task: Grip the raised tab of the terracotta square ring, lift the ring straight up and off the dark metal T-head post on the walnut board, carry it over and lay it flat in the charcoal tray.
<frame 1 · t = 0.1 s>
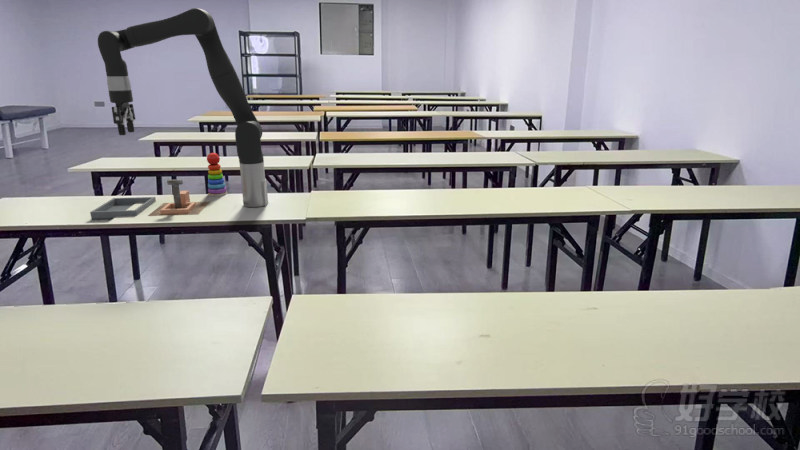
hand: (127, 133, 195), 29 cm above the table, tool pointing down, fingers open, 8 cm apart
ring: (178, 209, 196), point 1 cm above the table, touching stake board
stake board: (180, 211, 199), on the table
tray: (125, 211, 199), on the table
stacking toy: (218, 196, 221), on the table
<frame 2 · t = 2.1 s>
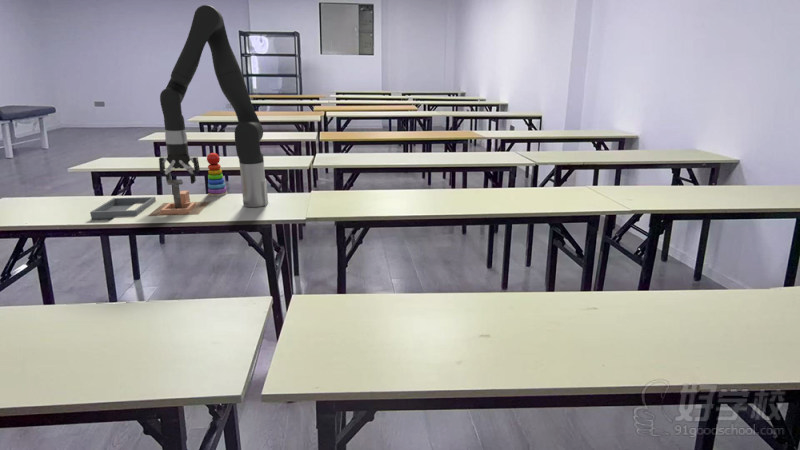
hand: (181, 183, 202), 10 cm above the table, tool pointing down, fingers open, 8 cm apart
nothing on the table moved.
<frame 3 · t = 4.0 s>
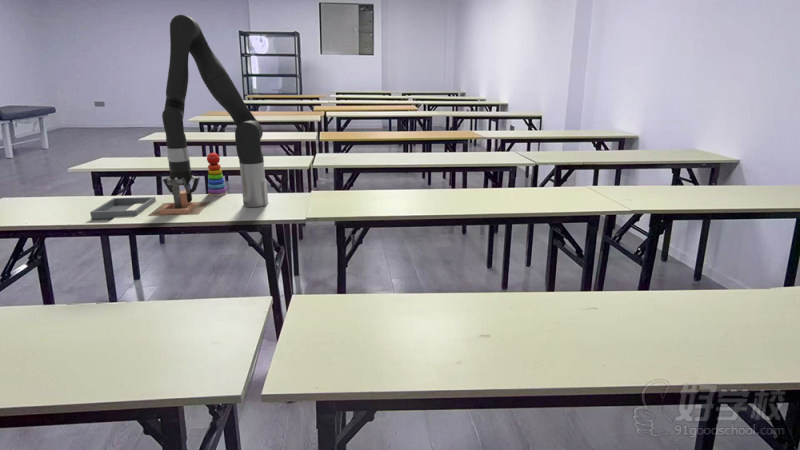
hand: (184, 202, 204), 2 cm above the table, tool pointing down, fingers closed on ring, 3 cm apart
ring: (178, 209, 196), point 1 cm above the table, touching gripper, stake board
everything else where it was.
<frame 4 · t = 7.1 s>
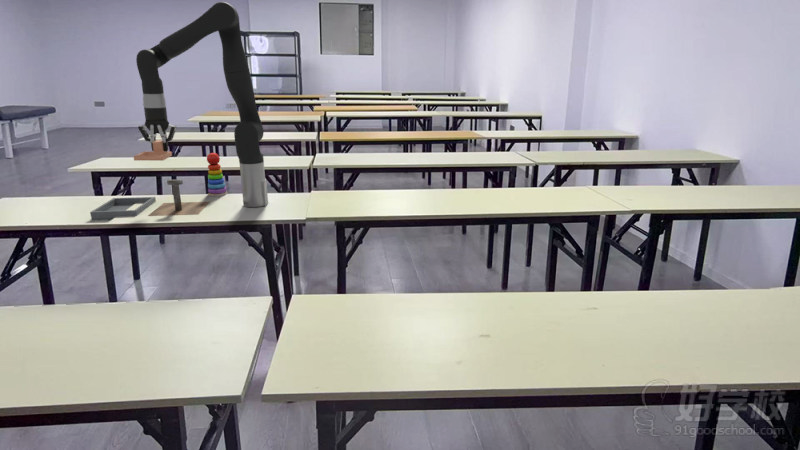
hand: (160, 152, 198), 22 cm above the table, tool pointing down, fingers closed on ring, 3 cm apart
ring: (153, 157, 190), point 21 cm above the table, touching gripper
everything else where it was.
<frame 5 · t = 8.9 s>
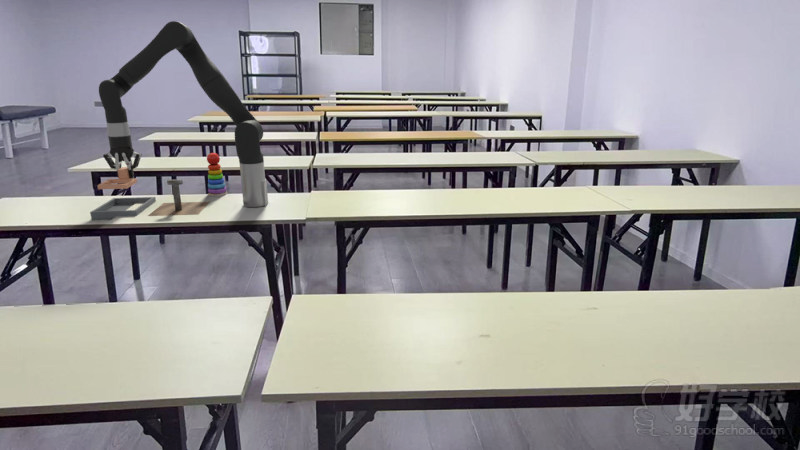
hand: (126, 179, 200), 12 cm above the table, tool pointing down, fingers closed on ring, 3 cm apart
ring: (118, 185, 193), point 11 cm above the table, touching gripper
everything else where it was.
when the fingers open (3 cm above the table, at t = 10.6 s): ring stays where it is, resting on tray.
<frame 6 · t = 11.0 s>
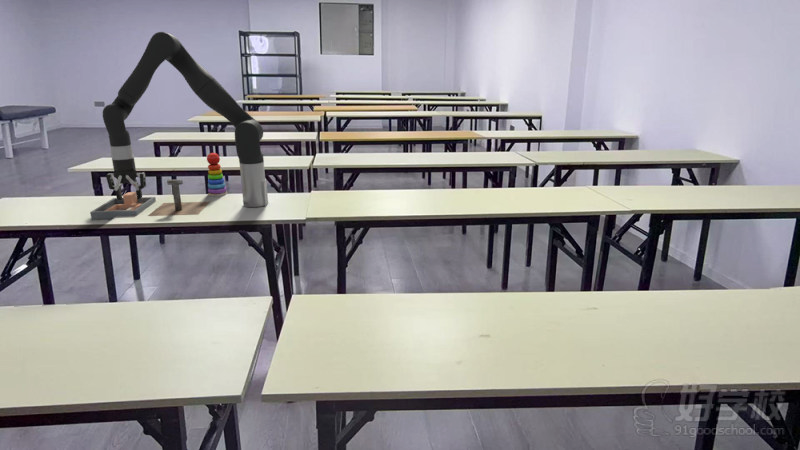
hand: (129, 199, 203), 4 cm above the table, tool pointing down, fingers open, 6 cm apart
ring: (123, 211, 197), point 1 cm above the table, touching tray
everything else where it was.
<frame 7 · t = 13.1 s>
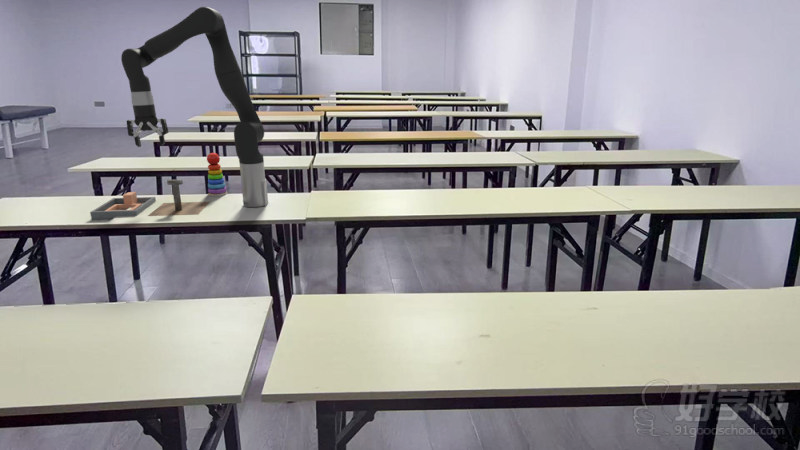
hand: (150, 146, 203), 23 cm above the table, tool pointing down, fingers open, 8 cm apart
nothing on the table moved.
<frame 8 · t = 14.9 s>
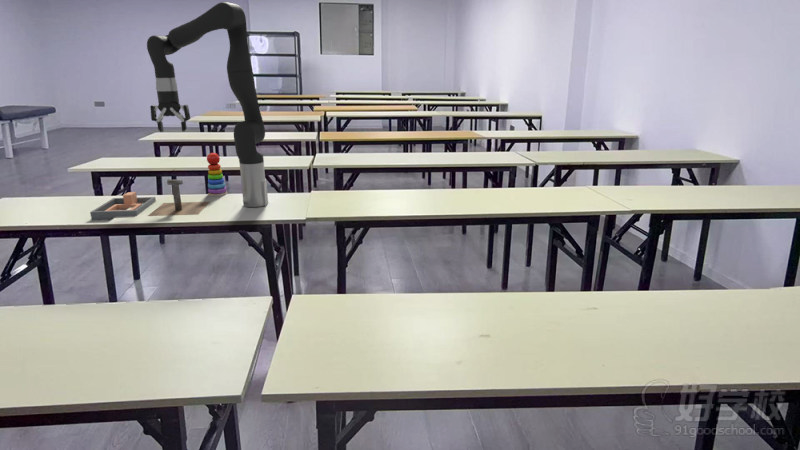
hand: (172, 131, 208), 28 cm above the table, tool pointing down, fingers open, 8 cm apart
nothing on the table moved.
at the end: ring inside the target area on the tray (0.4 cm from its centre), point 0.6 cm above the tray's base; ring tilted 0°; the gripper is holding nothing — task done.
